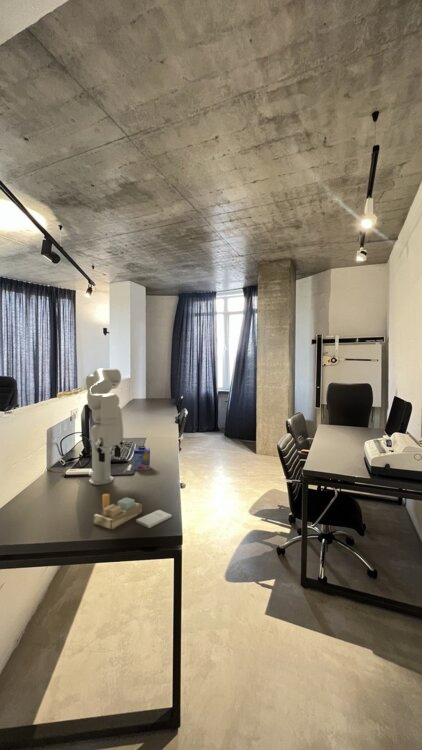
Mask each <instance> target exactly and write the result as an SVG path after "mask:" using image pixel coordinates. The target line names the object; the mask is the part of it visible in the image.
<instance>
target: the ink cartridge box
mask: <svg viewBox="0 0 422 750" xmlns="http://www.w3.org/2000/svg"><path fill="white" fill-rule="evenodd" d="M140 470H141V471H142V470H151V449H150V447H146V445H139V446H138V448H134V449H133V471H140Z"/></svg>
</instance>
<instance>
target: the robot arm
mask: <svg viewBox="0 0 422 750" xmlns="http://www.w3.org/2000/svg"><path fill="white" fill-rule="evenodd" d="M121 381H122V374H121V372H120V370H119V369H117V368H98V369H96V370H94V371H93V373H92V374H91V375H88V376H86V379H85V386H86V390H87V394H86V399H87V400H86V401H87V407H88V408H89V409H90V410H91V417H92V420H93V422H94V423H99V424H94V425H93V426H91V428H90V429H89V430H90V432H89V433H90V434H89V435H90V440H91V441H90V442H91V453H92V454H91V464H92V466H91V467H92V468H91V471H90V472H89V473H88V476H90V479H89V481H88V482H89V484H91V485H96V486H97V485H99V486H100V485H106V484H109V483H111V482H113V481H114V477H113V476H112V475H111V448H112V447H115V448H114V457H116V458H121V449H122V445H123V444H124V441H125V438H124V424H123V423H124V422H123V413H122V408H121V407H120V397H119V396H118V394H117V393H110V392H111V391H112V390H114V389H117V388H118V387H119V385H120V384H121Z"/></svg>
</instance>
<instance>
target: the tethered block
mask: <svg viewBox="0 0 422 750" xmlns="http://www.w3.org/2000/svg"><path fill="white" fill-rule="evenodd" d="M101 502H102V510H103V509H104V508H106V507H108V506H110V505H111V504H110V493H103V494H102V501H101ZM135 503H136V502H135V499H133V498H130V497H128V496H127V497H124V498H122V499H120V500H118V501H117V506H121V510H125V511H127V510H129V509H131V508H133V507H135Z"/></svg>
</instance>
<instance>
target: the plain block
mask: <svg viewBox="0 0 422 750" xmlns="http://www.w3.org/2000/svg"><path fill="white" fill-rule="evenodd" d="M102 510H103V515H102V516H105V517H108V518H112V519H113V518H115V517H117V516H118V515H120V514H121V506H118V504H117V505H116V504H114V503H112V504H110V506H108V507H106V508H104V509H103V508H102Z"/></svg>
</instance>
